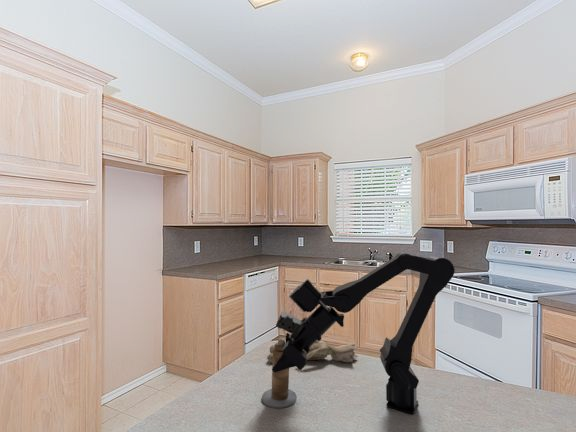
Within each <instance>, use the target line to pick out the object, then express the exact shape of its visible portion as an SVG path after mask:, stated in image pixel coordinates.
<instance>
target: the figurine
mask: <svg viewBox="0 0 576 432" xmlns="http://www.w3.org/2000/svg"><path fill="white" fill-rule="evenodd" d="M355 346H356V344H355V343H352V344H343V345H339V346H336V347H333V346H331V345H329V344H327V343H326V342H325V341H324V340H322V339H321V340H320V341H318V340H317V341H316V342H315V343H314V344H313V345H312V346H311V347H310V351H309V352H308V353H307V352H306V351H305V350H304V349H303V351H304V352H305V353H306V354H307V361H315V360H324V359H325V358H327V357H328V356H330V357H331V360H333V361H335V362H339V363H340V362H341V363H342V362H343V363H352V362H353V360H355V359H356V358H358V357H359V356H358V354H356V353H355V350H356V347H355ZM273 348H275V344H274V345H273V344H272V345H271V346H270V347H269V355H268V356H267V358H268V359H267V361H268V363H269V364H272V363H273Z"/></svg>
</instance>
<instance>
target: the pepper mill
mask: <svg viewBox="0 0 576 432" xmlns="http://www.w3.org/2000/svg"><path fill="white" fill-rule="evenodd" d="M283 344H284V345H285V344H286V339H285V338H281V337H280V338H279V339H278V340H277V343H276V342H275V344H274V345H275V348H273V363H271V364H272V366H271V367H272V368H273V366H274V365H275V363H276V362H277V361H278V359H279V358H280V357H281V355H282V354H283V351H282V348H283ZM272 368H271V369H272ZM289 378H290V368H288V369H284V370H281V371H278V372H273V371H272V370H271V389H272V394H271V397H272V398H273V399H275V400H279V401H281V400H286V399H287V398H288V389H289V387H290V385H289V383H290V381H289V380H290V379H289Z"/></svg>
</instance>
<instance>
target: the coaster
mask: <svg viewBox="0 0 576 432" xmlns="http://www.w3.org/2000/svg"><path fill="white" fill-rule="evenodd" d="M271 394H272V388H270V389H267V390H265V392H264V393H262V395H261V401H262V403H263V405H266V406H267V407H270V408H273V409H285V408H289V407H292V406H293V405H295V403H296V402H297V394H296V392H295V391H293V390H291V389H289V388H288V398H287V399H286V400H281V401H279V400H275V399H273V398H272V397H271Z"/></svg>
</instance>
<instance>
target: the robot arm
mask: <svg viewBox="0 0 576 432" xmlns="http://www.w3.org/2000/svg"><path fill="white" fill-rule="evenodd" d="M407 270H409V271H413V272H418V273H419V280H418V287H417V289H416V292H415V294H414V295H413V297H412V301H411V303H410V304H409V307H408V308H407V311H406V313H405V316H404V318H403V319H402V322H401V323H400V326H399V328H398V330H397V333H396V334H395V336H394V337H392V338H391V339H390V338H388V337H385V339H384V342H383V345H382V347H381V348H380V349H379V353H380V356H379V358H380V361H381V364H382V366H383V368H384V370H385V373H386V375H388V377H389V378H388V379H387V380H388V381H387V383H386V385H385V388H386V389H385V391H386V392H385V395H386V396H385V398H386V399H385V400H386V401H387V403H386V407H387V408H389V409H393V410H396V411H400V412H404V413H406V414H410V415H414V414H415V412H416V409H417V407H418V404H419V400H418V399H417V398H418V397H417V396H418V395H417V388H418V386H419V384H420V383H419V381H420V380H419V379H418V377H417V375H416V374H415V372H414V370H413V369H412V368H411V364H412V360H413V358H412V357H413V347H414V344H415V342H416V340H417V337H418V336H419V333H420V332H421V329H422V327H423V325H424V322H425V320H426V318H427V316H428V314H429V312H430V310H431V308H432V305H433V303H434V301H435V298H436V297H437V295H438V294H439V293H440V292H441V291H442V290H443V289H444V288H446V287H447V285H448V284H449V283H450V282H451V280H452V278H453V276H454V274H455V271H456V269H455V266H454V264H453V262H452V261H451V260H449V259H448V258H445V257H442V256H441V257H440V256H437V255H430V256H428V257H424V256H423V257H422V256H418V255H413V254H409V253H406V252H402V251H401V252H398V253H397V254H395V256H394V257H392V258H390V259H389V260H387V261H386V262H384V263H382V264H381V265H380V266H378V267H376V268H375V269H372V270H371V271H370V272H368V273H367V274H364V276H362V277H360V278H357V279H355V280H352V281H349V282H346V283H344V284H342V285H339V286H337V287H335V288H334V289H333V290H326V291H319V289H317V288H316V286H315V285H314V284H313V283H312V282H311V280H310V279H309V278H307V279H306V280H305V281H303V282H302V283H301V284H300V285H297V287H296V288H295V289H294V290H293V291H292V292H291V293H290V295H289V296H288V298H289V299H291V301H292V302H293V303H295V305H296V306H297V307H298V308H300V310H301V311H302V312H303V313H311V312H312V313H311V314H310V315H308V317H307V316H306V317H303V318H302V319H299V318H297V317H296V316H294V315H292V314H290V313H288V312H286V311H281V312H280V315H279V317H278V320H277V321H276V324H275V326H276V328H278V329H282V330H283V331H285V332H286V335H285V343H286V344H285V345H284V344H283V348H282V351H283V354H282V355H281V357H280V358H279V359H278V361H277V362H276V363H275V365H274V366H273V368H271V372H272V371H273V372H278V371H281V370H284V369H288V368H289V369H290V368H297V370H300V371H302V370H303V369H304V367H306V366H307V362H308V360H307V354H306V353H305V352H304V351H303V349H304V350H305V351H306V352H307V353H308V352H309V351H310V347H311V346H312V345H313V344H314V343H315V342H316V341H317V340H318V341H320V340H321V341H322V340H323V339H322V338H323V337H322V336H323V335H325V333H326V332H328V330H330V328H331V327H332V326H334V324H335V323H337V324H338V325H339V326H340V327H341V328H343V327H344V326H345V325H344V320H345V315H344V314H345V313H349V312H351V311H352V310H354V309H355V307H357V306H358V304H360V303H361V302H362V301H363V299H364V298H365V297H366V296H367V295H368V294H369V293H371V292H372V291H375V290H376V289H378V288H379V287H380V286H382V285H383V284H385V283H387V282H389V281H390V280H392V279H393V278H395V277H397V276H398V275H400V274H401V273H403V272H405V271H407Z"/></svg>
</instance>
